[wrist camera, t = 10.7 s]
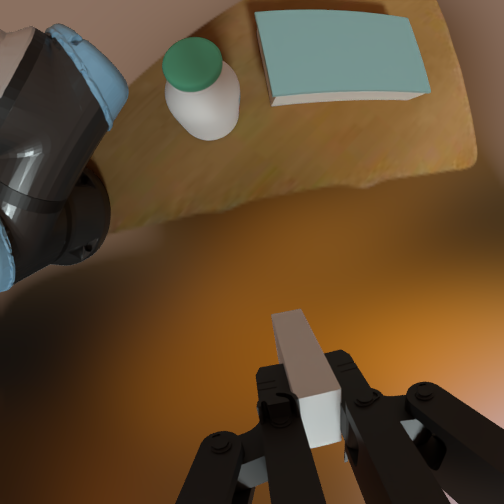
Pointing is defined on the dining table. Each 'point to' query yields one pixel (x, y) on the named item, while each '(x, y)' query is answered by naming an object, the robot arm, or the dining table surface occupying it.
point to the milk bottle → (201, 88)
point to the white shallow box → (333, 93)
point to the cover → (339, 52)
